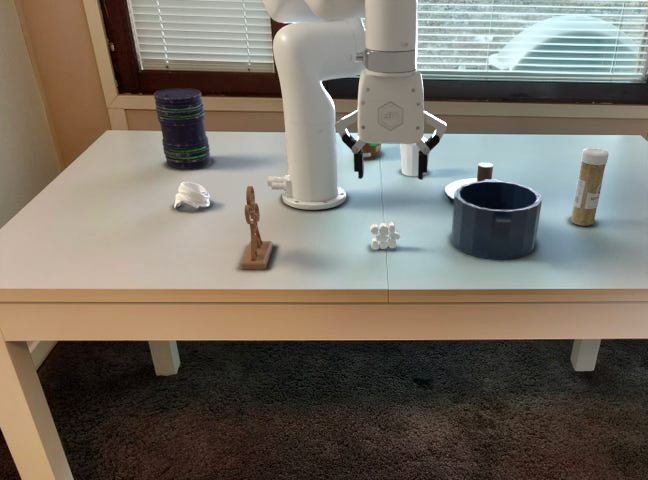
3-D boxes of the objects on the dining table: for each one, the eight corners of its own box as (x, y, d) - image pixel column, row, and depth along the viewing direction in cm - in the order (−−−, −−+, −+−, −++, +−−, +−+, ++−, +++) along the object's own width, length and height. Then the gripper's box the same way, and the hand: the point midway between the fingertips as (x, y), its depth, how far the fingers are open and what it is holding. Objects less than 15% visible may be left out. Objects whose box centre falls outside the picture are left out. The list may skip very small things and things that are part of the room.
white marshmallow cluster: (370, 249, 110) (370, 225, 108) (370, 246, 112) (370, 222, 109) (399, 249, 111) (400, 225, 108) (399, 246, 112) (399, 221, 109)
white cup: (426, 178, 141) (428, 146, 137) (396, 175, 142) (396, 143, 138) (431, 168, 146) (433, 137, 142) (402, 166, 147) (402, 134, 143)
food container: (384, 163, 149) (384, 118, 143) (357, 162, 149) (357, 117, 143) (386, 147, 159) (386, 104, 153) (361, 146, 159) (360, 104, 153)
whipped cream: (179, 202, 128) (172, 178, 126) (213, 198, 129) (207, 174, 127) (173, 215, 122) (166, 189, 119) (209, 210, 122) (203, 185, 120)
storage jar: (192, 153, 151) (181, 85, 143) (220, 162, 147) (211, 92, 138) (156, 164, 145) (143, 93, 136) (185, 173, 140) (173, 101, 132)
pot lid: (446, 209, 126) (448, 176, 122) (443, 182, 139) (445, 151, 135) (525, 212, 126) (530, 179, 122) (515, 184, 139) (519, 153, 135)
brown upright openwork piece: (250, 245, 111) (242, 177, 104) (273, 246, 111) (266, 177, 104) (240, 269, 103) (231, 197, 97) (265, 269, 103) (257, 197, 97)
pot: (454, 265, 106) (458, 216, 101) (449, 218, 123) (452, 174, 118) (543, 268, 106) (551, 219, 101) (525, 220, 123) (532, 176, 118)
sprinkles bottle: (593, 228, 120) (608, 156, 113) (568, 224, 121) (581, 153, 114) (595, 219, 124) (609, 148, 116) (570, 216, 125) (583, 145, 117)
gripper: (329, 65, 92) (335, 183, 101) (451, 67, 92) (445, 185, 101) (334, 56, 98) (339, 168, 108) (448, 58, 98) (442, 170, 108)
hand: (390, 176), depth 104 cm, fingers open, 9 cm apart
